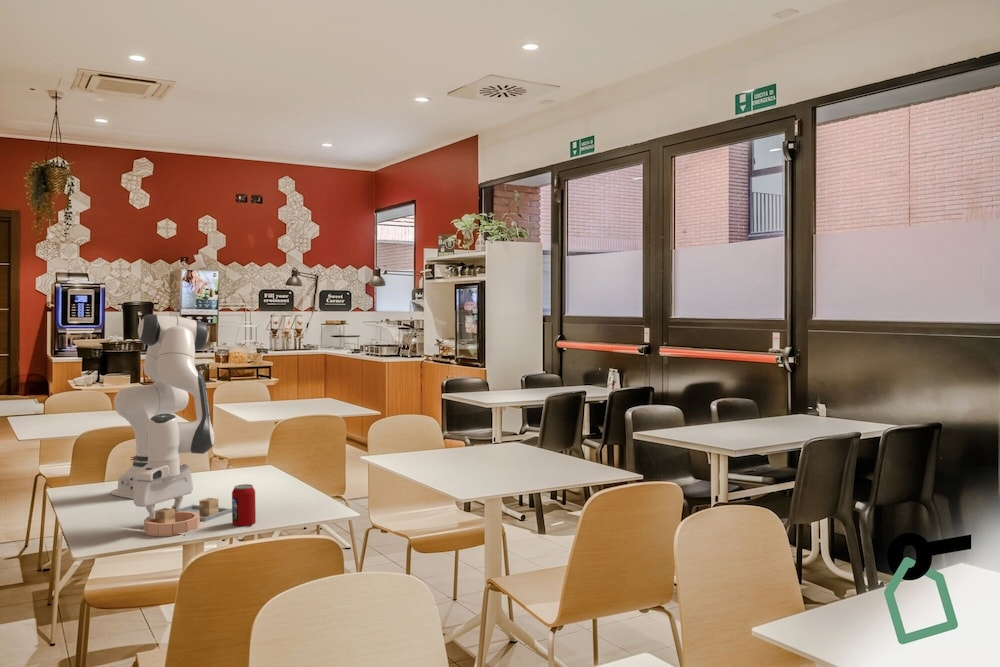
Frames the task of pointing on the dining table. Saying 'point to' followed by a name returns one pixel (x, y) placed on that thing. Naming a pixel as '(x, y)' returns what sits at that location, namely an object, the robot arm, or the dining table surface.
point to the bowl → (173, 524)
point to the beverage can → (243, 505)
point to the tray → (196, 509)
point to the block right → (208, 507)
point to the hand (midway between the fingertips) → (164, 515)
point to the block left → (165, 516)
